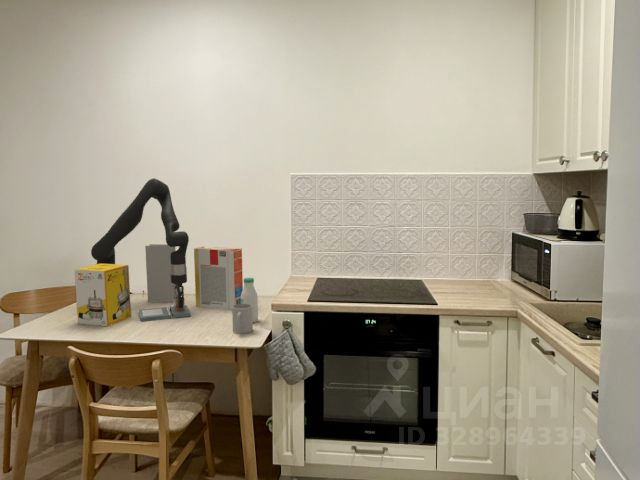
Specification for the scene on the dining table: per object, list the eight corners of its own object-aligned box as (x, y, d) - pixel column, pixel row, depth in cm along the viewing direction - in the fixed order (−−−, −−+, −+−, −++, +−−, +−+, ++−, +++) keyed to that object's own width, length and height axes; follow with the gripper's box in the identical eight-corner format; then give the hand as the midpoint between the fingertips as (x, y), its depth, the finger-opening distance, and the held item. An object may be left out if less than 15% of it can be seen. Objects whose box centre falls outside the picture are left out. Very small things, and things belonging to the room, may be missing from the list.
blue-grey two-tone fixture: (173, 317, 242) (172, 302, 241) (170, 309, 257) (169, 294, 256) (190, 316, 245) (190, 300, 244) (186, 308, 259) (186, 293, 258)
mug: (235, 327, 227) (234, 303, 225) (254, 328, 226) (254, 303, 225) (228, 336, 215) (227, 310, 213) (248, 336, 214) (248, 310, 213)
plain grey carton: (177, 299, 278) (175, 244, 275) (173, 302, 273) (171, 246, 269) (152, 299, 280) (149, 244, 276) (147, 301, 274) (145, 245, 271)
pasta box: (243, 306, 263) (241, 248, 259) (235, 310, 256) (233, 250, 252) (204, 302, 271) (203, 246, 268) (196, 306, 264) (193, 248, 260)
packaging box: (131, 316, 245) (128, 265, 242) (107, 326, 229) (104, 271, 226) (103, 314, 250) (100, 263, 246) (77, 323, 234) (74, 269, 231)
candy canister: (260, 319, 239) (260, 277, 237) (253, 324, 232) (252, 280, 229) (245, 318, 242) (245, 276, 239) (238, 322, 234) (237, 279, 232)
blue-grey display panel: (140, 321, 236) (139, 317, 236) (138, 313, 251) (138, 309, 251) (171, 318, 241) (171, 314, 241) (168, 310, 256) (168, 306, 256)
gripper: (169, 271, 253) (170, 303, 255) (172, 276, 240) (173, 310, 242) (184, 269, 256) (186, 301, 258) (188, 275, 243) (189, 308, 245)
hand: (179, 305), depth 250 cm, fingers open, 8 cm apart
